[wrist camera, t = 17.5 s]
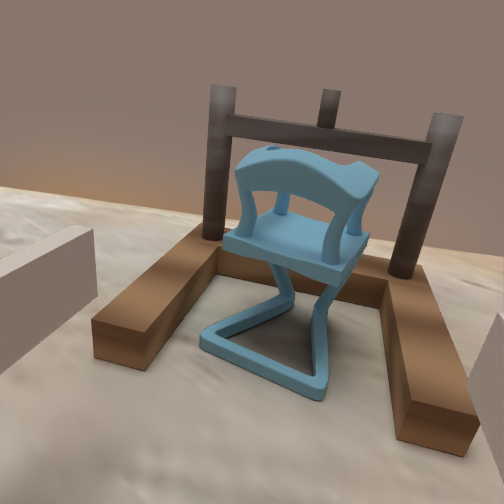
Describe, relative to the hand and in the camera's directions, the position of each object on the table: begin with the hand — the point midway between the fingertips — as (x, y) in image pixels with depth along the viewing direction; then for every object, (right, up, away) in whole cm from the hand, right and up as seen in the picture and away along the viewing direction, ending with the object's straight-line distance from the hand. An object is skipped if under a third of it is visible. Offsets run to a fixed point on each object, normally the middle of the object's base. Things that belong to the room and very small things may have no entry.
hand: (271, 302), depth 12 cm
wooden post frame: (+2, -3, +14) cm, 14 cm away
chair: (+1, -4, +12) cm, 13 cm away
